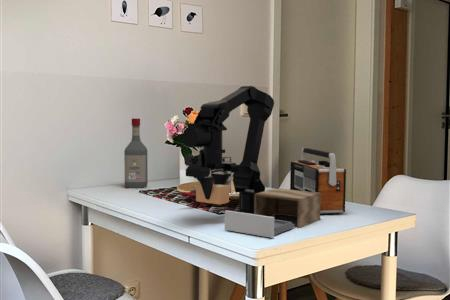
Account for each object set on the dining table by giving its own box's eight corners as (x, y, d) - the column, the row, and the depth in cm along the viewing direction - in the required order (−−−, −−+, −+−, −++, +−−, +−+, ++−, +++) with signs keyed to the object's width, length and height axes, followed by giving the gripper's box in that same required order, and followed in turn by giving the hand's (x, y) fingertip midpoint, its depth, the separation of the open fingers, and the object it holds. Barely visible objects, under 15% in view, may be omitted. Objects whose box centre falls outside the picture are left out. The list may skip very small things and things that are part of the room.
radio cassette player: (288, 200, 183) (289, 147, 182) (315, 200, 185) (316, 147, 184) (316, 216, 154) (318, 153, 153) (347, 215, 156) (349, 153, 155)
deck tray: (272, 237, 126) (272, 217, 125) (224, 229, 134) (224, 210, 134) (297, 227, 137) (297, 209, 137) (252, 220, 146) (252, 203, 145)
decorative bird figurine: (221, 205, 173) (222, 176, 172) (180, 210, 162) (180, 180, 161) (216, 203, 175) (217, 176, 174) (175, 209, 164) (175, 179, 163)
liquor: (145, 188, 210) (144, 118, 208) (123, 188, 210) (123, 118, 207) (148, 185, 219) (147, 118, 217) (127, 185, 219) (127, 118, 217)
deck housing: (299, 228, 138) (299, 199, 138) (254, 221, 147) (254, 193, 146) (320, 219, 150) (320, 192, 149) (277, 213, 158) (277, 188, 158)
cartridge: (196, 201, 147) (196, 184, 146) (205, 199, 150) (205, 182, 150) (220, 204, 141) (220, 187, 141) (229, 202, 145) (229, 185, 145)
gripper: (210, 143, 157) (209, 191, 158) (171, 146, 142) (171, 199, 143) (238, 145, 151) (238, 195, 152) (201, 148, 135) (201, 203, 136)
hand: (212, 198), depth 146 cm, fingers closed on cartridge, 4 cm apart
